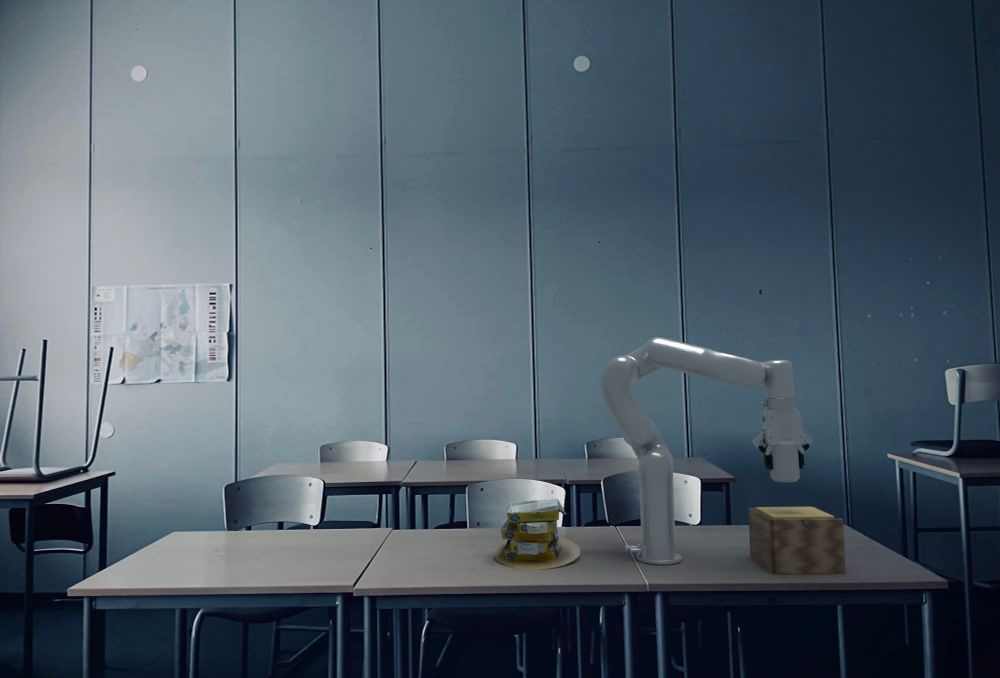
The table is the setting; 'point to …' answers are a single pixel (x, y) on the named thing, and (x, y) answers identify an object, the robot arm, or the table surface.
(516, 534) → the stacked yellow boxes
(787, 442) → the can
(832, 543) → the trapdoor frame
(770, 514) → the trapdoor flap
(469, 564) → the table surface
